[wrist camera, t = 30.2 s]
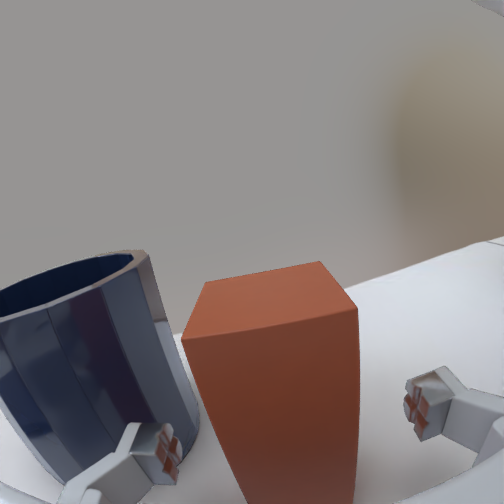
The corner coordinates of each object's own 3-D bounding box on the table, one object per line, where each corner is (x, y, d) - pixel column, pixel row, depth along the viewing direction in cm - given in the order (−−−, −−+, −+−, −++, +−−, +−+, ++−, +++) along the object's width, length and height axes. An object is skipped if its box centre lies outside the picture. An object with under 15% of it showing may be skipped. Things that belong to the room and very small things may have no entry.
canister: (239, 417, 16) (192, 249, 14) (80, 528, 8) (-57, 353, 5) (140, 363, 24) (102, 249, 22) (29, 423, 16) (-32, 300, 13)
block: (352, 508, 9) (358, 307, 6) (258, 524, 9) (179, 338, 6) (335, 447, 12) (320, 260, 10) (257, 461, 13) (204, 281, 10)
